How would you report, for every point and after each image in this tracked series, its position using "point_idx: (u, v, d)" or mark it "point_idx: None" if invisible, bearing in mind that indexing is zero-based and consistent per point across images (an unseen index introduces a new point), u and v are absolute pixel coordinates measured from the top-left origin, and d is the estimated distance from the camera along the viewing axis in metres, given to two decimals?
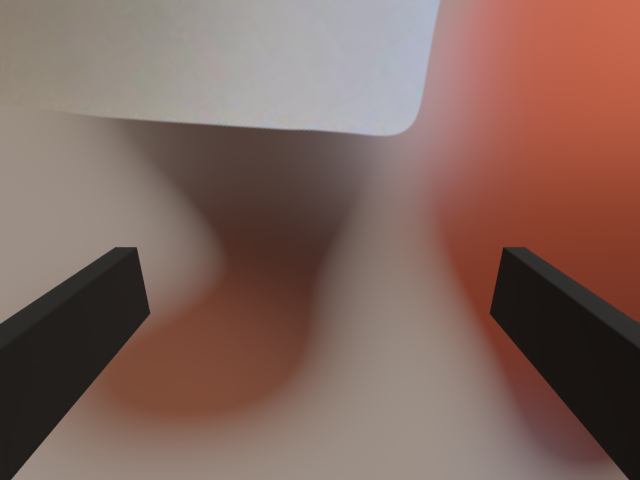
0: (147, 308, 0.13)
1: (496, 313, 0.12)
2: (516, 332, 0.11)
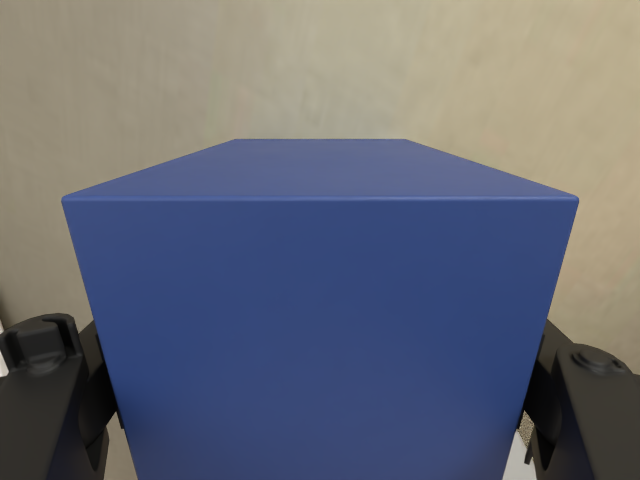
0: None
1: None
2: None
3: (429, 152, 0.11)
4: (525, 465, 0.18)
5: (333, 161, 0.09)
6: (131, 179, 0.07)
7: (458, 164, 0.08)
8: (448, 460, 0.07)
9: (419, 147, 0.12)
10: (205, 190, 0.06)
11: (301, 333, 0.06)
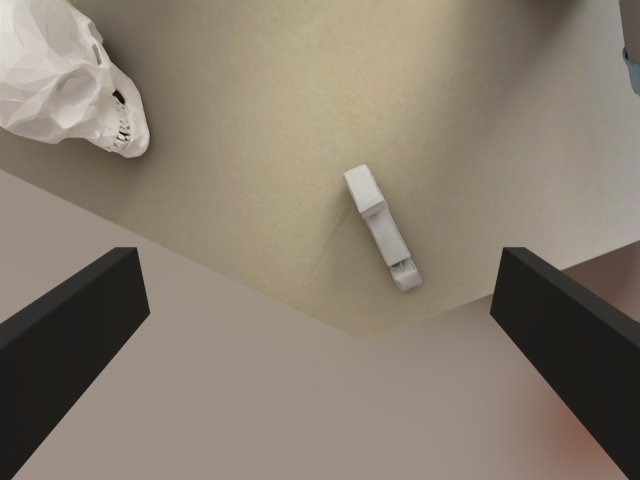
0: (147, 308, 0.13)
1: (496, 313, 0.12)
2: (516, 332, 0.11)
3: None
4: (367, 173, 0.44)
5: None
6: None
7: None
8: None
9: None
10: None
11: None
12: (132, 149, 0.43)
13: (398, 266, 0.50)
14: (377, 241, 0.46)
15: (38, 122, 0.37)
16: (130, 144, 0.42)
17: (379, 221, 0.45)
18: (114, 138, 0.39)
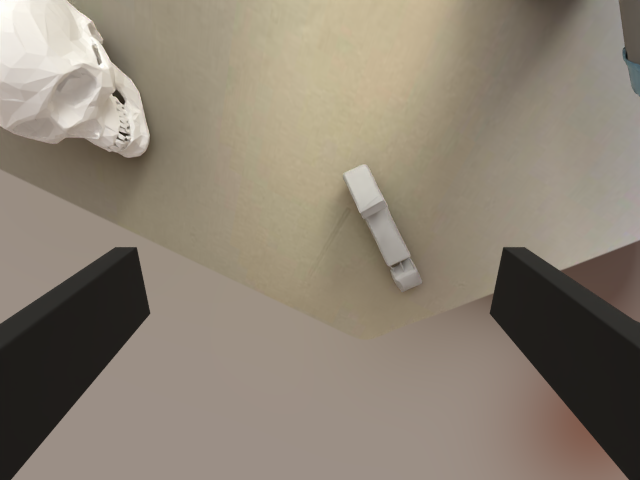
0: (147, 308, 0.13)
1: (496, 313, 0.12)
2: (516, 332, 0.11)
3: None
4: (367, 173, 0.44)
5: None
6: None
7: None
8: None
9: None
10: None
11: None
12: (132, 149, 0.43)
13: (398, 266, 0.50)
14: (377, 241, 0.46)
15: (38, 122, 0.37)
16: (130, 144, 0.42)
17: (379, 221, 0.45)
18: (114, 138, 0.39)
